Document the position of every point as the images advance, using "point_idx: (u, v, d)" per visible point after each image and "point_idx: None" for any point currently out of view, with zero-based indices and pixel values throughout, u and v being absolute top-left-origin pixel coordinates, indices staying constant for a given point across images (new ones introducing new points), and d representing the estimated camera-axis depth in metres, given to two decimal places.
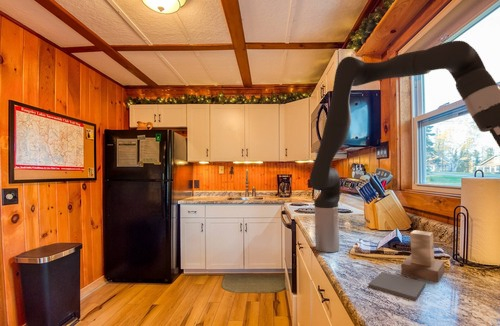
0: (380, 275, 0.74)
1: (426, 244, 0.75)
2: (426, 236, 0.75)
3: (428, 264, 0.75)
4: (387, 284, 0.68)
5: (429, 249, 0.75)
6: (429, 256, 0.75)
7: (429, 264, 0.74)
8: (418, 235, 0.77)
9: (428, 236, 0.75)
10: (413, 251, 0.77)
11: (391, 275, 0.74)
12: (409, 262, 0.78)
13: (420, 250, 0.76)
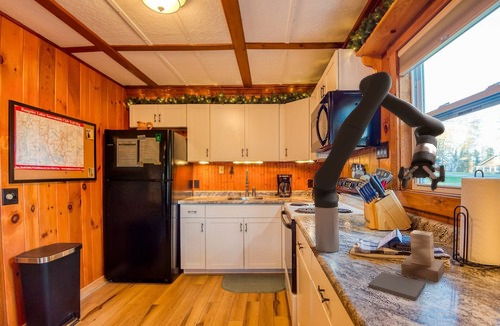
0: (380, 275, 0.74)
1: (426, 244, 0.75)
2: (426, 236, 0.75)
3: (428, 264, 0.75)
4: (387, 284, 0.68)
5: (429, 249, 0.75)
6: (429, 256, 0.75)
7: (429, 264, 0.74)
8: (418, 235, 0.77)
9: (428, 236, 0.75)
10: (413, 251, 0.77)
11: (391, 275, 0.74)
12: (409, 262, 0.78)
13: (420, 250, 0.76)
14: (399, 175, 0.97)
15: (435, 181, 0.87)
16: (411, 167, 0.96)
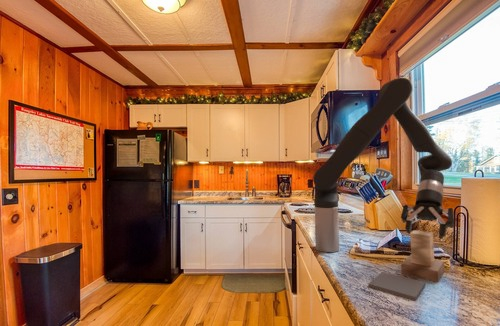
0: (380, 275, 0.74)
1: (426, 244, 0.75)
2: (426, 236, 0.75)
3: (428, 264, 0.75)
4: (387, 284, 0.68)
5: (429, 249, 0.75)
6: (429, 256, 0.75)
7: (429, 264, 0.74)
8: (418, 235, 0.77)
9: (428, 236, 0.75)
10: (413, 251, 0.77)
11: (391, 275, 0.74)
12: (409, 262, 0.78)
13: (420, 250, 0.76)
14: (403, 216, 0.87)
15: (443, 227, 0.78)
16: (416, 207, 0.87)
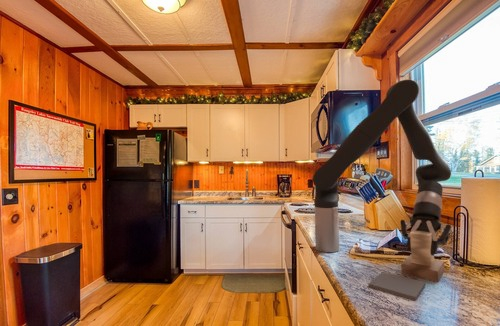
0: (380, 275, 0.74)
1: (426, 244, 0.75)
2: (426, 236, 0.75)
3: (428, 264, 0.75)
4: (387, 284, 0.68)
5: (429, 249, 0.75)
6: (429, 256, 0.75)
7: (429, 264, 0.74)
8: (418, 235, 0.77)
9: (428, 236, 0.75)
10: (413, 251, 0.77)
11: (391, 275, 0.74)
12: (409, 262, 0.78)
13: (420, 250, 0.76)
14: (404, 232, 0.82)
15: (435, 244, 0.75)
16: (412, 221, 0.84)
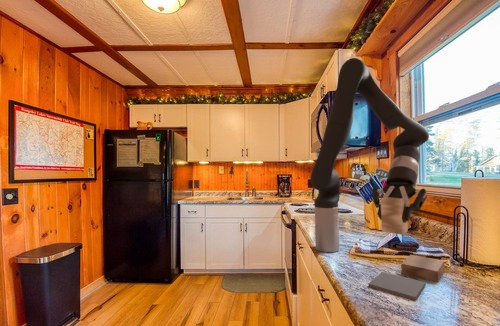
0: (380, 275, 0.74)
1: (397, 210, 0.67)
2: (397, 201, 0.67)
3: (399, 232, 0.66)
4: (387, 284, 0.68)
5: (400, 215, 0.66)
6: (400, 223, 0.66)
7: (400, 232, 0.66)
8: (389, 200, 0.68)
9: (399, 200, 0.66)
10: (384, 219, 0.69)
11: (391, 275, 0.74)
12: (409, 262, 0.78)
13: (391, 217, 0.68)
14: (375, 199, 0.74)
15: (407, 210, 0.67)
16: (385, 188, 0.75)
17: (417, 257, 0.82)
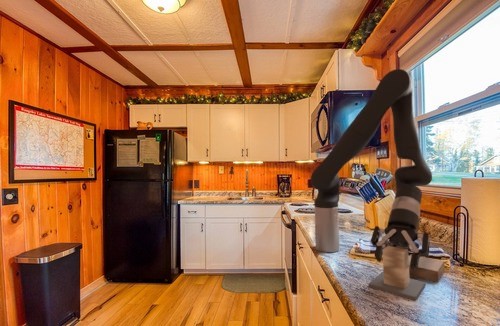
0: (380, 275, 0.74)
1: (399, 263, 0.66)
2: (399, 254, 0.66)
3: (402, 286, 0.66)
4: (387, 284, 0.68)
5: (403, 269, 0.66)
6: (403, 277, 0.66)
7: (403, 286, 0.66)
8: (391, 253, 0.68)
9: (402, 254, 0.66)
10: (386, 271, 0.68)
11: None
12: (409, 262, 0.78)
13: (393, 270, 0.67)
14: (373, 239, 0.75)
15: (416, 256, 0.66)
16: (388, 229, 0.75)
17: None
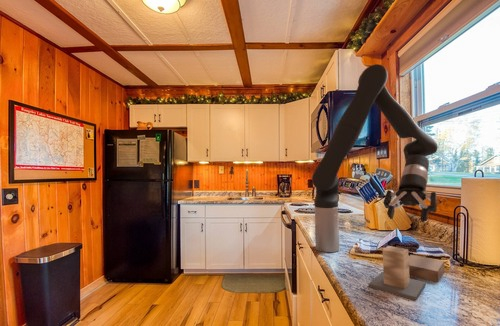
0: (380, 275, 0.74)
1: (399, 263, 0.66)
2: (399, 254, 0.66)
3: (402, 286, 0.66)
4: (387, 284, 0.68)
5: (403, 269, 0.66)
6: (403, 277, 0.66)
7: (403, 286, 0.66)
8: (391, 253, 0.68)
9: (402, 254, 0.66)
10: (386, 271, 0.68)
11: None
12: (409, 262, 0.78)
13: (393, 270, 0.67)
14: (385, 201, 0.85)
15: (425, 211, 0.75)
16: (399, 192, 0.84)
17: (417, 257, 0.82)
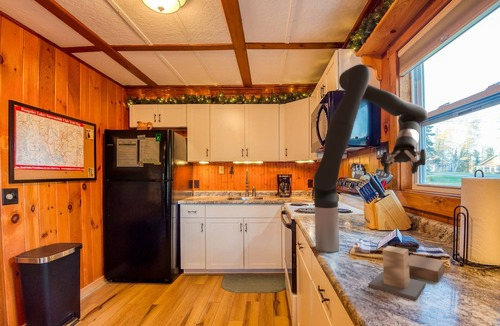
0: (380, 275, 0.74)
1: (399, 263, 0.66)
2: (399, 254, 0.66)
3: (402, 286, 0.66)
4: (387, 284, 0.68)
5: (403, 269, 0.66)
6: (403, 277, 0.66)
7: (403, 286, 0.66)
8: (391, 253, 0.68)
9: (402, 254, 0.66)
10: (386, 271, 0.68)
11: None
12: (409, 262, 0.78)
13: (393, 270, 0.67)
14: (382, 160, 0.98)
15: (416, 164, 0.89)
16: (393, 152, 0.98)
17: (417, 257, 0.82)
